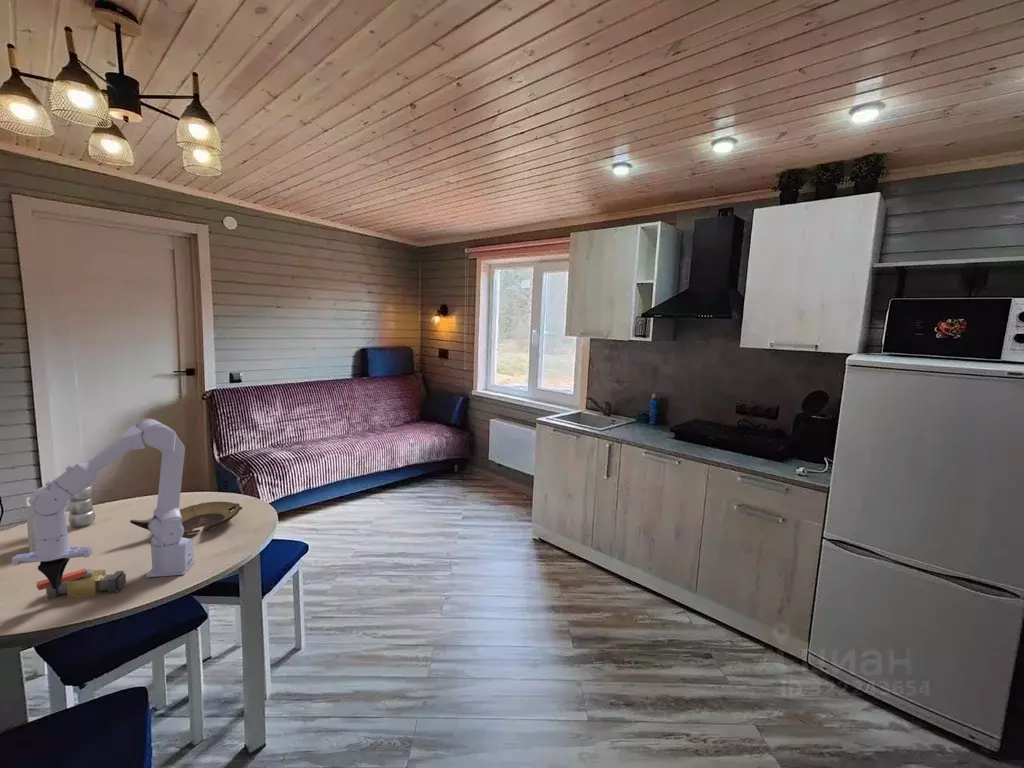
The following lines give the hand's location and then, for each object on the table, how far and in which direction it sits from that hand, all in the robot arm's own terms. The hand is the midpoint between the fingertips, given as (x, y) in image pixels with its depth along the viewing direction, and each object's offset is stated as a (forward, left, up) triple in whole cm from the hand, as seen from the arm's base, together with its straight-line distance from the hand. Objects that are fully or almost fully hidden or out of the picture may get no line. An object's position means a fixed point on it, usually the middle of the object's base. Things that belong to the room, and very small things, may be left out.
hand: (56, 587), depth 116 cm
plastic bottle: (+21, -49, -5) cm, 53 cm away
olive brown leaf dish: (-14, -42, -5) cm, 45 cm away
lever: (0, -3, 0) cm, 3 cm away
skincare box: (+22, -34, -5) cm, 41 cm away
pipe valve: (-3, -5, -5) cm, 8 cm away
